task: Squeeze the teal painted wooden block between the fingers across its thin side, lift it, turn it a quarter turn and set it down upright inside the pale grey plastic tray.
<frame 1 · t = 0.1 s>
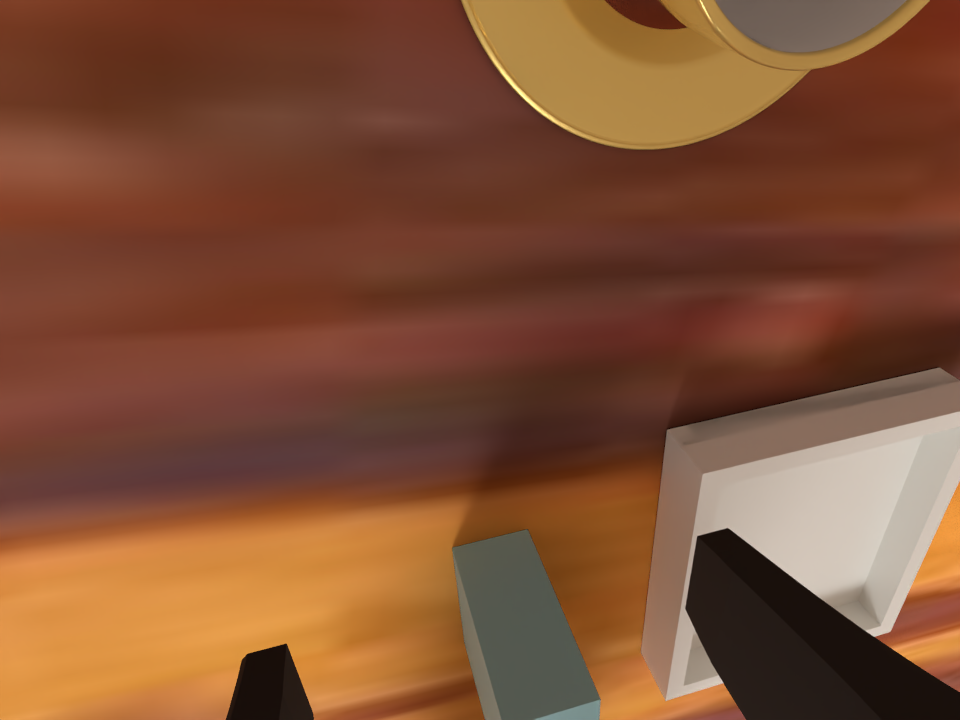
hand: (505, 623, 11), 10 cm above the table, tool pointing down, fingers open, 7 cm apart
teal block: (494, 588, 27), on the table
tray: (775, 523, 29), on the table
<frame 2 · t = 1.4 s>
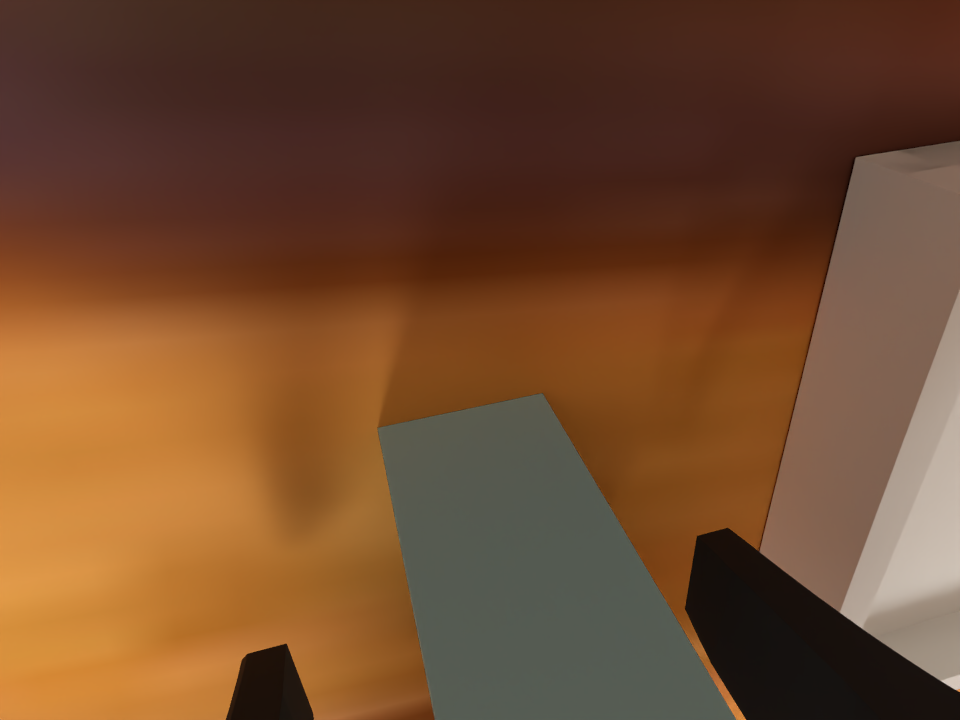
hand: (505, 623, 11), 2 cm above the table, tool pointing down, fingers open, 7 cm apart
teal block: (473, 527, 13), on the table
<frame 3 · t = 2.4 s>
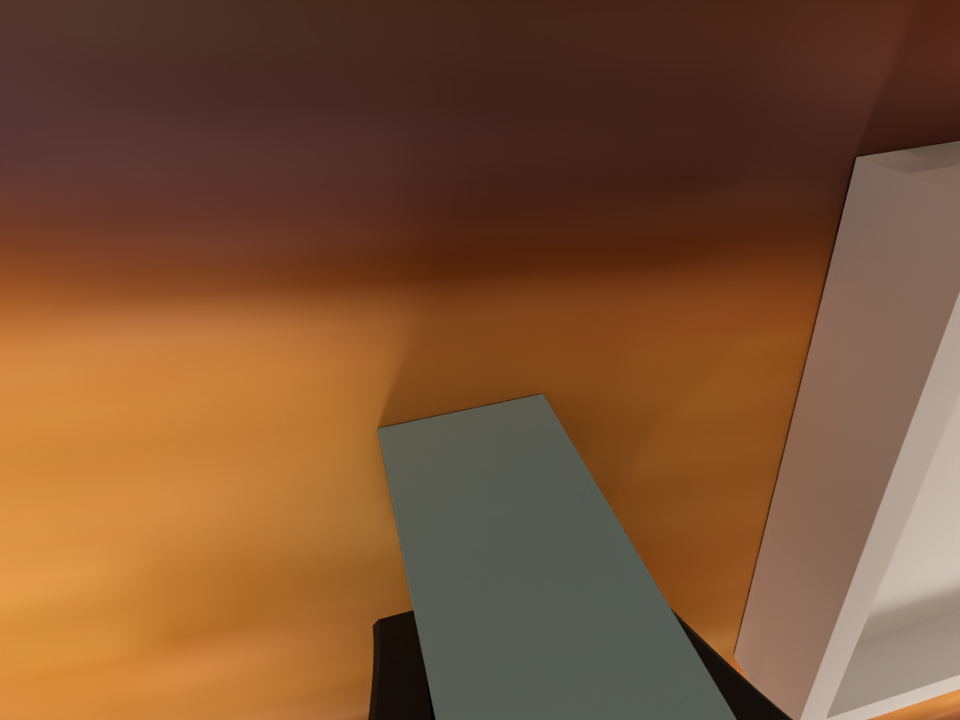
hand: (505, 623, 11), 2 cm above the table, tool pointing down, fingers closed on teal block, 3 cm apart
teal block: (474, 529, 13), on the table, touching gripper
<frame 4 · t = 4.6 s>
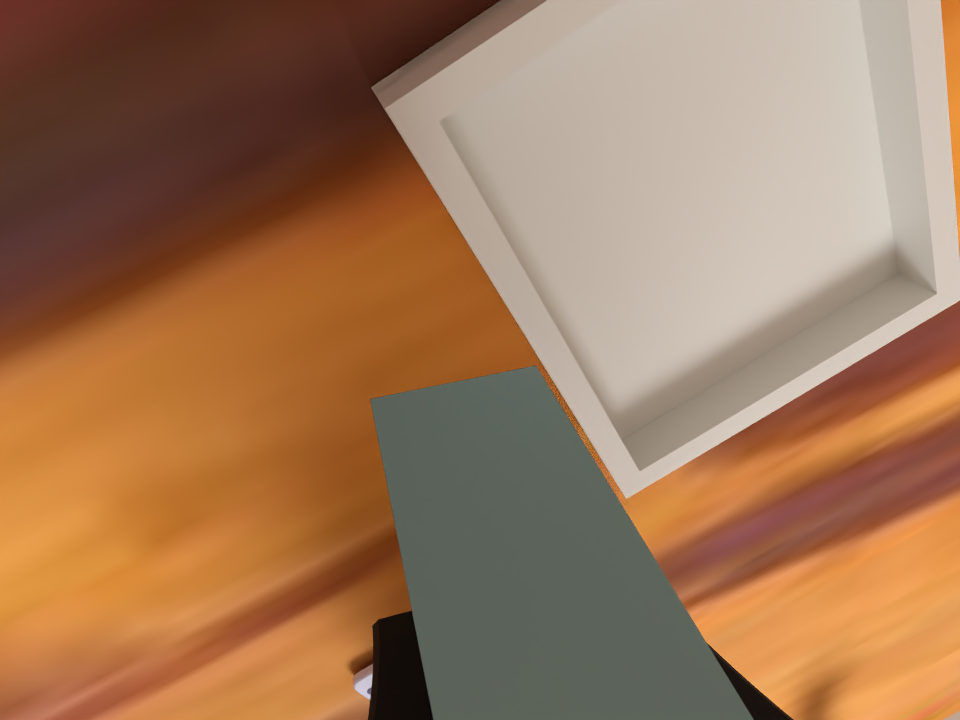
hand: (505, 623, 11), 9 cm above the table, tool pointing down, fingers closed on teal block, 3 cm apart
teal block: (468, 504, 13), point 7 cm above the table, touching gripper
tray: (685, 194, 19), on the table
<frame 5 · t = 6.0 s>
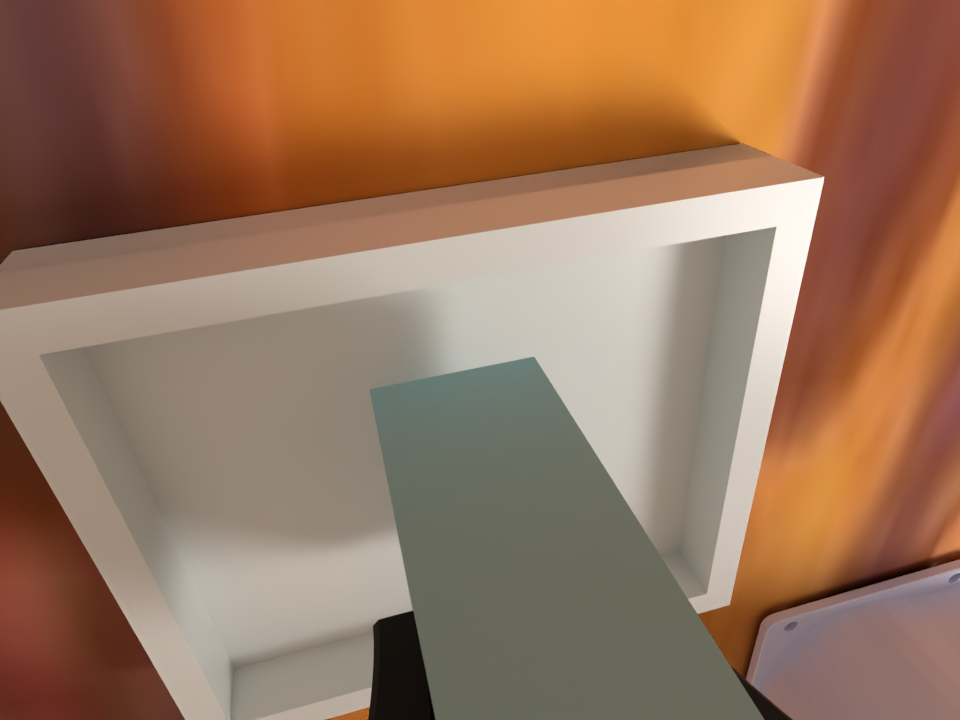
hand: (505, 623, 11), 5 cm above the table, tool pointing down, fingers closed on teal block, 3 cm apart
teal block: (467, 495, 13), point 3 cm above the table, touching gripper
tray: (444, 435, 16), on the table
when the fingers open (4 cm above the table, at t = 6.9 s): teal block stays where it is, resting on tray.
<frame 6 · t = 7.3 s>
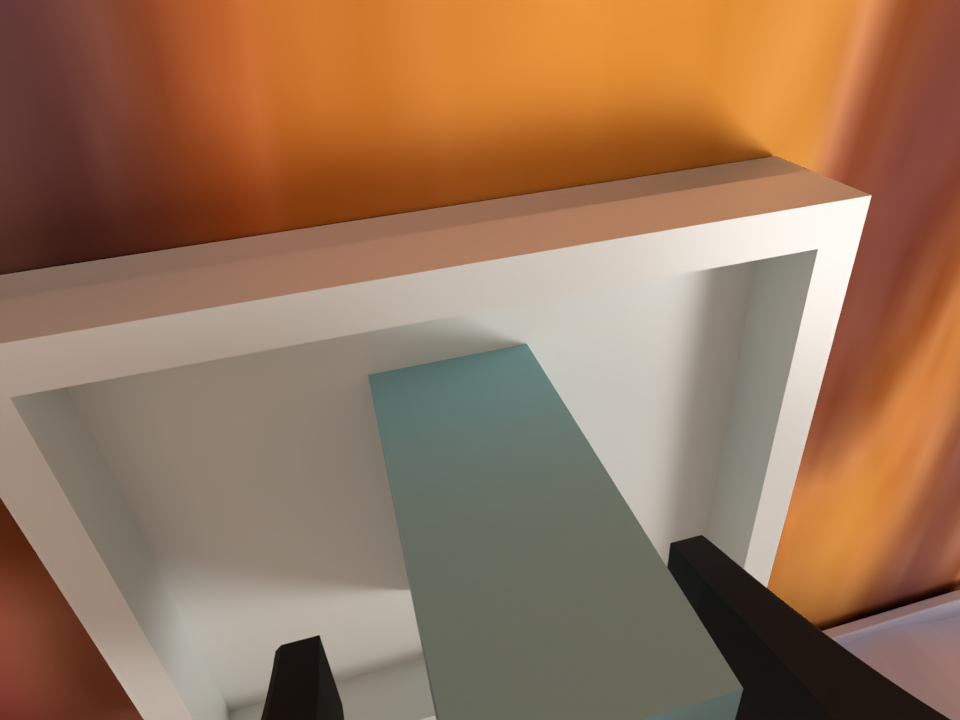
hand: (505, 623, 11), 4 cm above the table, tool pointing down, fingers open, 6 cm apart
teal block: (462, 479, 14), point 1 cm above the table, touching tray
tray: (453, 465, 15), on the table
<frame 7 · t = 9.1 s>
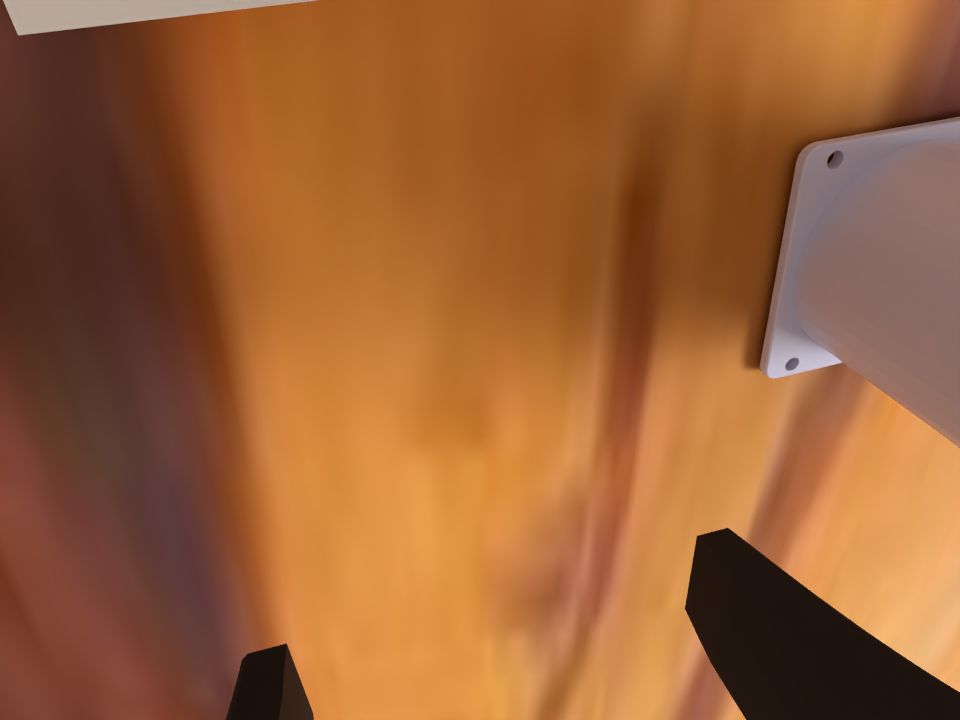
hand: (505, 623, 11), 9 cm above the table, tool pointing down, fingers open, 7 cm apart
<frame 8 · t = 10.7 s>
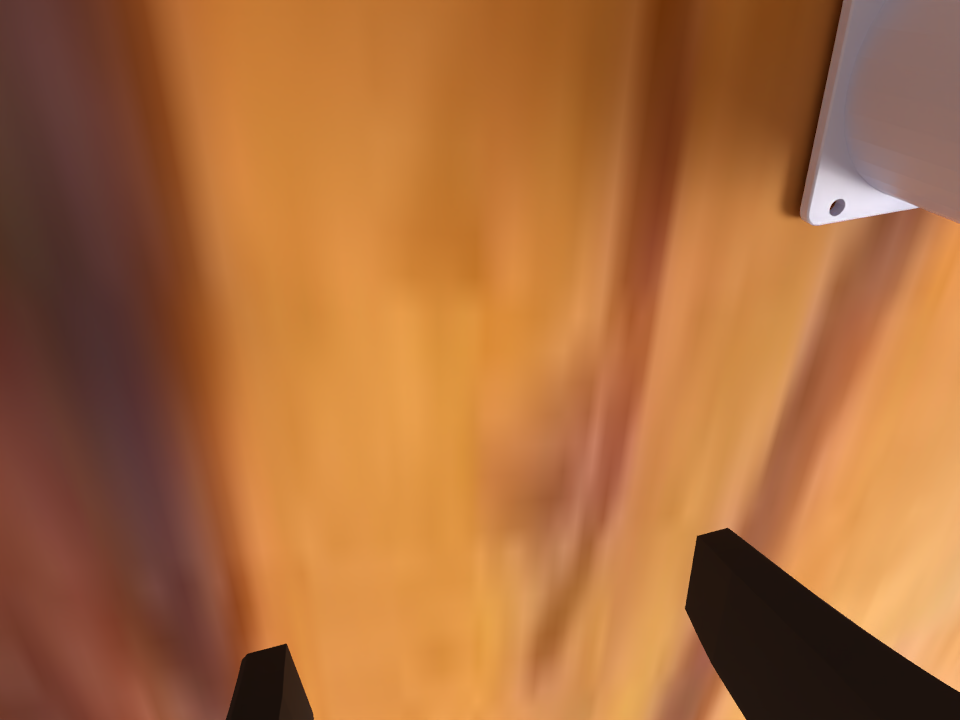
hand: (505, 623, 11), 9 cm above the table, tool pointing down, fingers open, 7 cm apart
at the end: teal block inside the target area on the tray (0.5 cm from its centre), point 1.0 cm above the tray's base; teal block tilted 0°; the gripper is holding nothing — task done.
